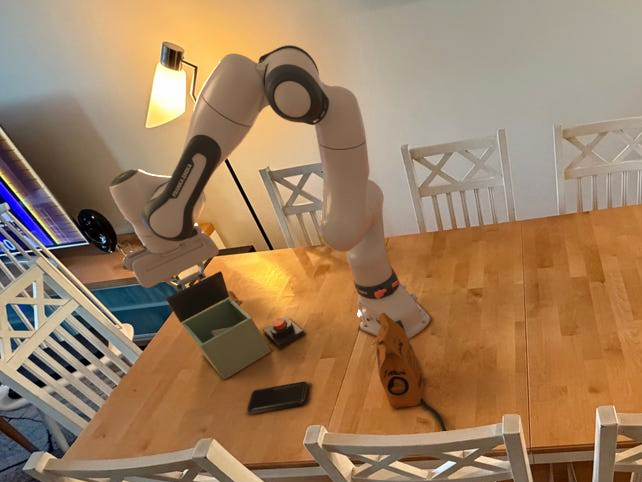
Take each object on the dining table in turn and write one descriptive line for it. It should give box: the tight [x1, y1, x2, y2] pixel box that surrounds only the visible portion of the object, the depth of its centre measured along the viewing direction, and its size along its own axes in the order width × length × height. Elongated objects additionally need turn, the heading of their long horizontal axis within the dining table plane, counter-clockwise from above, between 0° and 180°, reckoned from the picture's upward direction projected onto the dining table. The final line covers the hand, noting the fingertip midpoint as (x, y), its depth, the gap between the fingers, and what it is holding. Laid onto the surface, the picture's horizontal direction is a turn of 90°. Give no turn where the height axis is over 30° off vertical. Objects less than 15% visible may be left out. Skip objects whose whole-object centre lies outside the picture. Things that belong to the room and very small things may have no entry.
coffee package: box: [375, 313, 425, 409], centre depth 122 cm, size 10×12×22 cm
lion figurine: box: [226, 289, 241, 308], centre depth 163 cm, size 15×5×9 cm, turn 34°
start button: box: [272, 318, 287, 330], centre depth 151 cm, size 4×4×2 cm
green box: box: [180, 297, 272, 380], centre depth 146 cm, size 16×15×13 cm
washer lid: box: [165, 271, 229, 324], centre depth 138 cm, size 17×15×4 cm
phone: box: [246, 381, 309, 415], centre depth 133 cm, size 8×1×15 cm
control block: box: [262, 316, 305, 350], centre depth 153 cm, size 11×8×4 cm
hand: (191, 283), depth 134 cm, fingers closed on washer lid, 5 cm apart
